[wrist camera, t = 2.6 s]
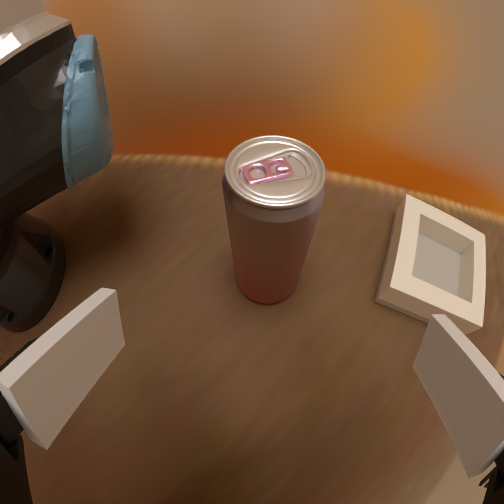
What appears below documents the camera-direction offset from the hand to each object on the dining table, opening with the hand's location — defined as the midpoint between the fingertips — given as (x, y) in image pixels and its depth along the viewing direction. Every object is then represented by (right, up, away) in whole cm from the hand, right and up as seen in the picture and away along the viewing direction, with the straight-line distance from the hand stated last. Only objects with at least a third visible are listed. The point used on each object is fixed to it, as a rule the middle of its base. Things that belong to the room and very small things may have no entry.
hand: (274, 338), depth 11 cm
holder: (+19, +1, +17) cm, 26 cm away
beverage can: (+1, +1, +18) cm, 18 cm away
